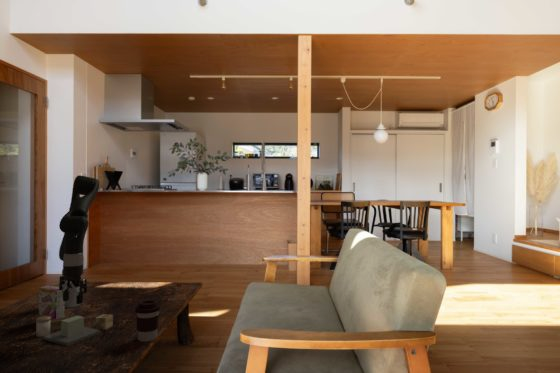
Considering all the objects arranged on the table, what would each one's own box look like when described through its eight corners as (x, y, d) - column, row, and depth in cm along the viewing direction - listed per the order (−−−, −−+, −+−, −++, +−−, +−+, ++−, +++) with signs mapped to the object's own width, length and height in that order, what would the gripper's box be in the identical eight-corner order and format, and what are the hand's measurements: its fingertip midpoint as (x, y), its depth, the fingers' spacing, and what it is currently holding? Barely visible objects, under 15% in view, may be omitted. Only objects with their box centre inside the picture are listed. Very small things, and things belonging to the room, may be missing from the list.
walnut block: (48, 329, 162) (48, 320, 162) (63, 326, 166) (64, 317, 166) (51, 331, 159) (51, 322, 159) (66, 328, 163) (66, 319, 163)
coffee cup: (145, 345, 145) (145, 307, 145) (129, 340, 150) (129, 303, 150) (165, 337, 153) (165, 301, 153) (149, 332, 158) (150, 297, 159)
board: (43, 339, 150) (43, 336, 150) (77, 327, 164) (77, 324, 164) (67, 346, 144) (67, 342, 144) (100, 333, 157) (100, 330, 157)
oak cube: (95, 329, 162) (95, 317, 162) (102, 325, 167) (102, 314, 167) (105, 329, 161) (105, 318, 161) (112, 325, 166) (112, 314, 166)
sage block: (60, 335, 152) (61, 320, 152) (76, 329, 158) (76, 315, 158) (68, 337, 150) (68, 322, 150) (83, 331, 156) (84, 317, 156)
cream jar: (32, 335, 154) (33, 318, 154) (45, 331, 159) (45, 315, 159) (40, 337, 152) (41, 320, 152) (53, 333, 157) (54, 316, 157)
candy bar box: (37, 323, 168) (38, 287, 169) (47, 320, 173) (48, 285, 173) (55, 326, 165) (56, 289, 165) (65, 323, 169) (66, 287, 170)
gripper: (53, 263, 154) (52, 302, 154) (76, 267, 148) (75, 307, 148) (70, 260, 161) (69, 297, 160) (92, 263, 155) (92, 302, 154)
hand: (72, 302), depth 154 cm, fingers open, 8 cm apart
